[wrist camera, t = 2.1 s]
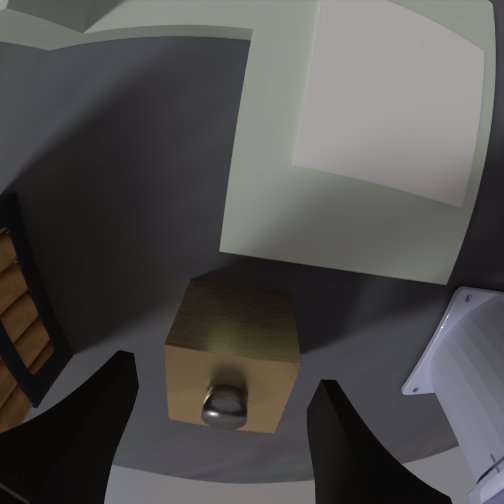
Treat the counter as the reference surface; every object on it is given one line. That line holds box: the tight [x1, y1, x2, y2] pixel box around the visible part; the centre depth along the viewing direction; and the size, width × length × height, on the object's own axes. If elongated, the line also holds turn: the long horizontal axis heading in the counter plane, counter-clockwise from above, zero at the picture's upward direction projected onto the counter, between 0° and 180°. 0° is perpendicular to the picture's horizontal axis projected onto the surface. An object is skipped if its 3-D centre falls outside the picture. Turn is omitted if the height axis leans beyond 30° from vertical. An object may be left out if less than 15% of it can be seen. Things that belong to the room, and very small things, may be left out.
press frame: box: [0, 0, 496, 285], centre depth 7 cm, size 20×14×6 cm
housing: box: [164, 279, 302, 433], centre depth 12 cm, size 4×4×6 cm
